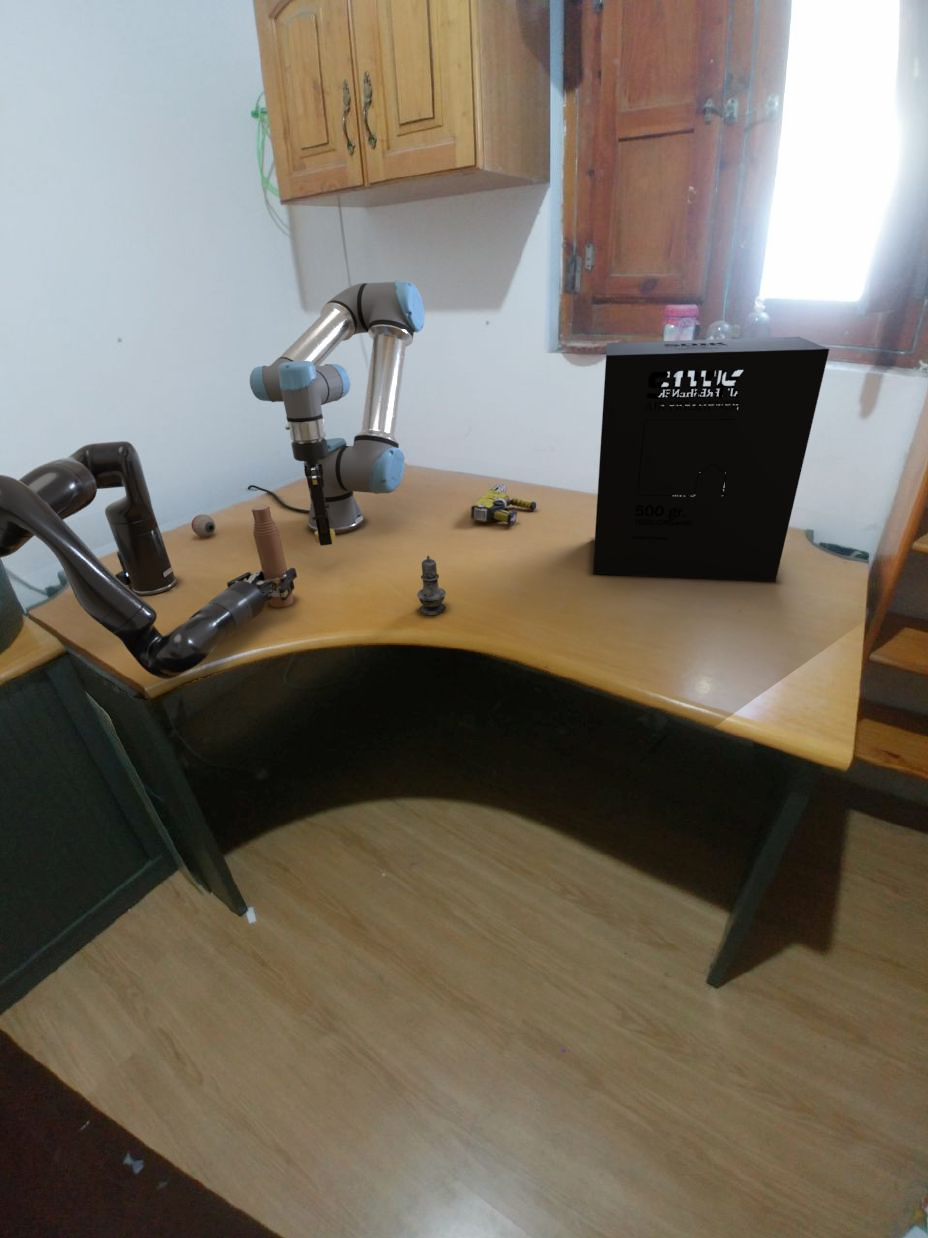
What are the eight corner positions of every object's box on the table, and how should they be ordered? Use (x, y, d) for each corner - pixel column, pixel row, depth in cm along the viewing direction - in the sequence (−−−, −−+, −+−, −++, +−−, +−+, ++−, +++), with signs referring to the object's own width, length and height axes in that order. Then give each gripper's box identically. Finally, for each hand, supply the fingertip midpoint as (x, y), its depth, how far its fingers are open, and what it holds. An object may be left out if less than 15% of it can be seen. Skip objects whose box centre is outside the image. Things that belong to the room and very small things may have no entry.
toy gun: (544, 489, 177) (495, 482, 181) (524, 514, 157) (469, 505, 161) (542, 504, 180) (494, 497, 183) (522, 531, 159) (468, 521, 163)
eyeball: (204, 541, 163) (198, 520, 160) (190, 537, 166) (184, 517, 163) (223, 533, 168) (217, 513, 165) (208, 530, 171) (202, 510, 168)
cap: (312, 540, 141) (310, 532, 140) (328, 534, 144) (326, 526, 143) (323, 545, 139) (321, 536, 138) (339, 539, 141) (338, 531, 140)
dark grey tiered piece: (443, 616, 121) (439, 562, 115) (415, 615, 122) (409, 561, 116) (449, 602, 126) (446, 549, 120) (422, 601, 127) (417, 548, 121)
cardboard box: (755, 543, 144) (798, 336, 121) (775, 581, 127) (829, 348, 104) (594, 538, 151) (606, 342, 129) (592, 573, 134) (606, 355, 112)
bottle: (284, 594, 134) (263, 501, 123) (298, 600, 131) (278, 505, 120) (265, 603, 130) (242, 508, 120) (279, 609, 128) (257, 513, 117)
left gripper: (261, 594, 112) (309, 557, 126) (198, 587, 116) (250, 551, 130) (270, 629, 116) (315, 589, 129) (208, 620, 120) (258, 583, 134)
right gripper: (291, 432, 137) (309, 529, 148) (289, 450, 122) (309, 556, 133) (325, 429, 138) (340, 525, 150) (327, 446, 123) (343, 552, 135)
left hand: (282, 570), depth 130 cm, fingers closed on bottle, 5 cm apart
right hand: (325, 540), depth 141 cm, fingers closed on cap, 4 cm apart
